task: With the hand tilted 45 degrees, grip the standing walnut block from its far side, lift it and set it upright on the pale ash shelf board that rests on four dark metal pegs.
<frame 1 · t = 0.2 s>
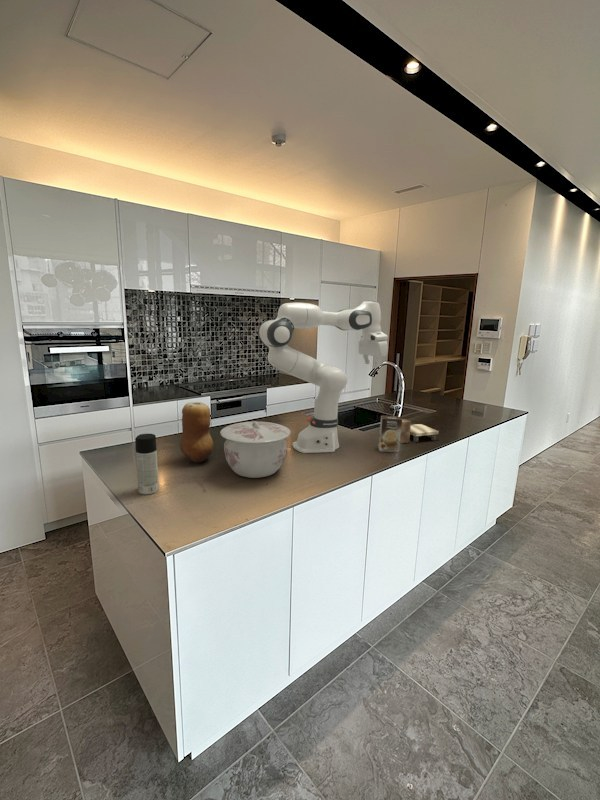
hand: (372, 364, 186), 39 cm above the countertop, tool pointing down, fingers open, 8 cm apart
coffee box: (388, 450, 183), on the countertop
chamber pot: (256, 471, 154), on the countertop
butternut squash: (197, 461, 163), on the countertop
walnut block: (402, 441, 196), on the countertop
spray can: (148, 491, 135), on the countertop
peg shelf: (417, 437, 203), on the countertop
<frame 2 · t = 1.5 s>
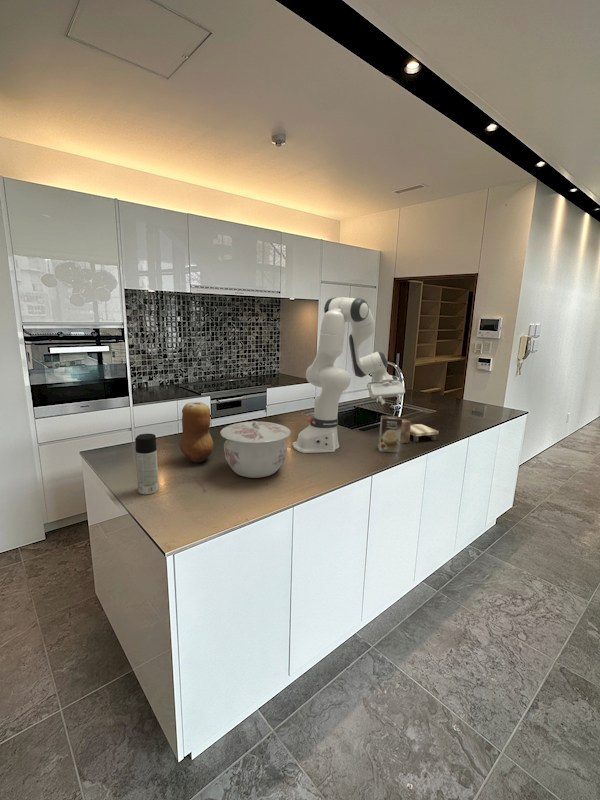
hand: (391, 403, 203), 17 cm above the countertop, tool tilted 45°, fingers open, 8 cm apart
nothing on the countertop moved.
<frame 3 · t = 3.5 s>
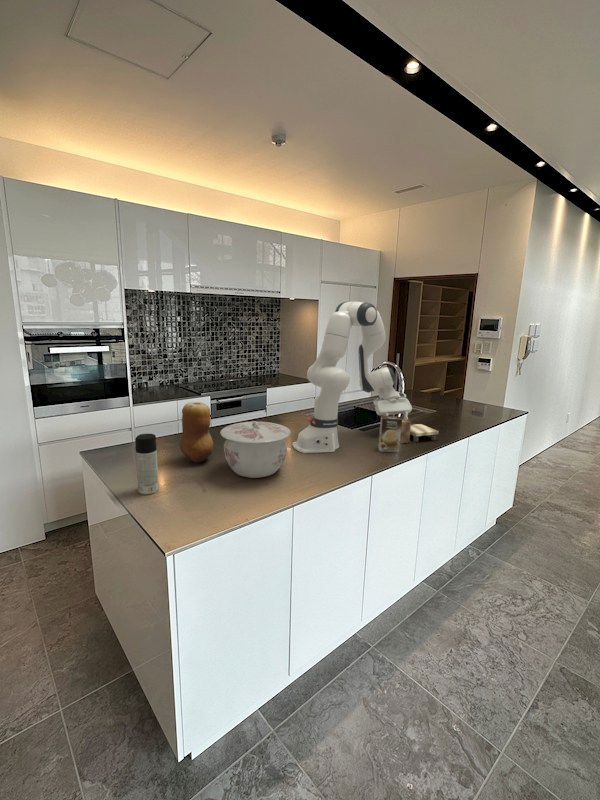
hand: (398, 420, 198), 10 cm above the countertop, tool tilted 45°, fingers open, 8 cm apart
nothing on the countertop moved.
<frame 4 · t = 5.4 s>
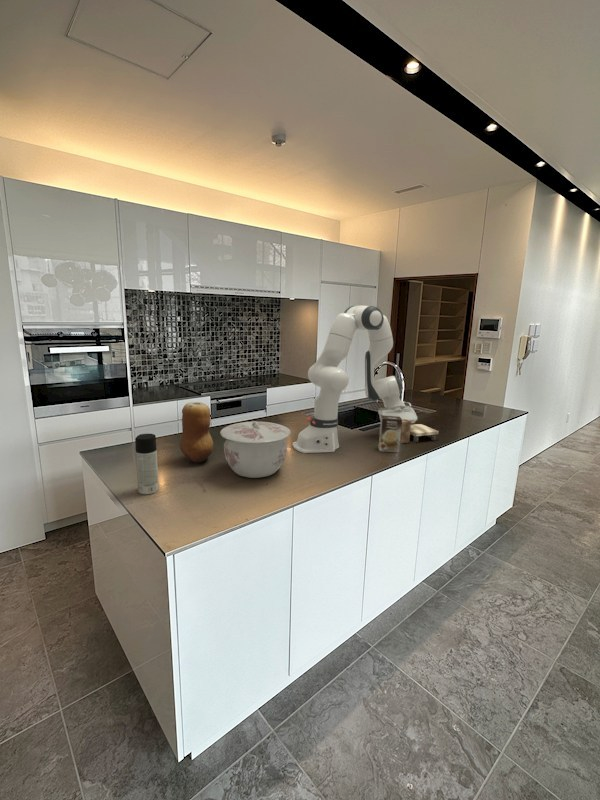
hand: (403, 430, 194), 6 cm above the countertop, tool tilted 45°, fingers closed on walnut block, 5 cm apart
walnut block: (402, 441, 196), on the countertop, touching gripper
everything else where it was.
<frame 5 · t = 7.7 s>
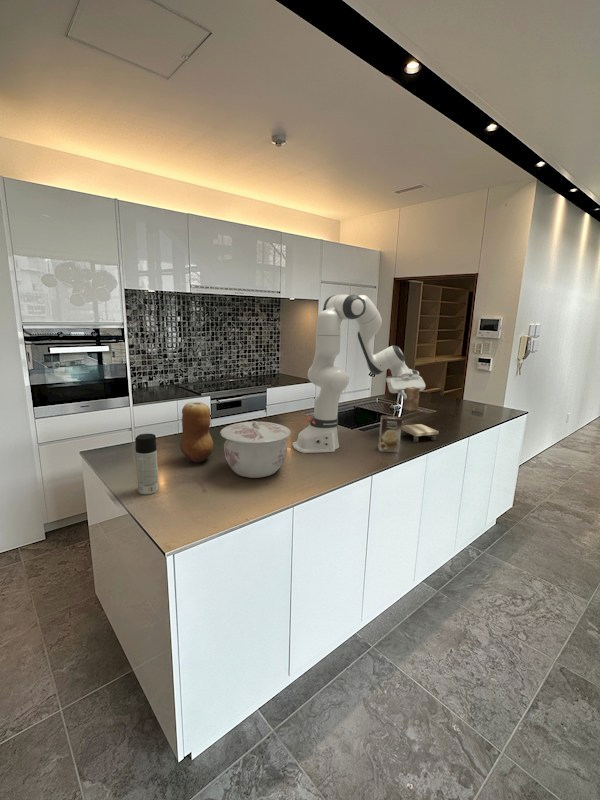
hand: (412, 398, 193), 22 cm above the countertop, tool tilted 45°, fingers closed on walnut block, 5 cm apart
walnut block: (410, 409, 195), point 16 cm above the countertop, touching gripper
everything else where it was.
when the fingers open (12 cm above the countertop, at t = 10.3 s): walnut block drops 1 cm, resting on peg shelf.
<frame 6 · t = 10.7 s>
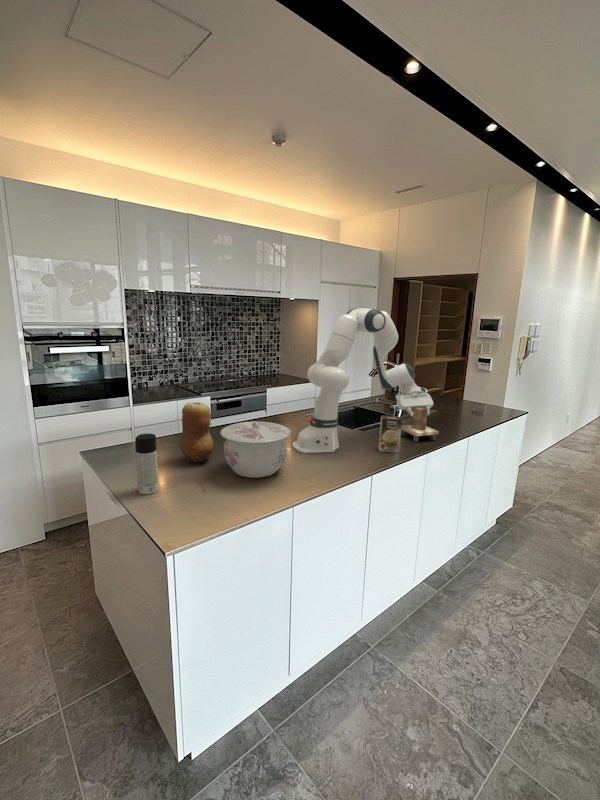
hand: (420, 415, 200), 12 cm above the countertop, tool tilted 45°, fingers open, 8 cm apart
walnut block: (418, 428, 202), point 5 cm above the countertop, touching peg shelf
everything else where it was.
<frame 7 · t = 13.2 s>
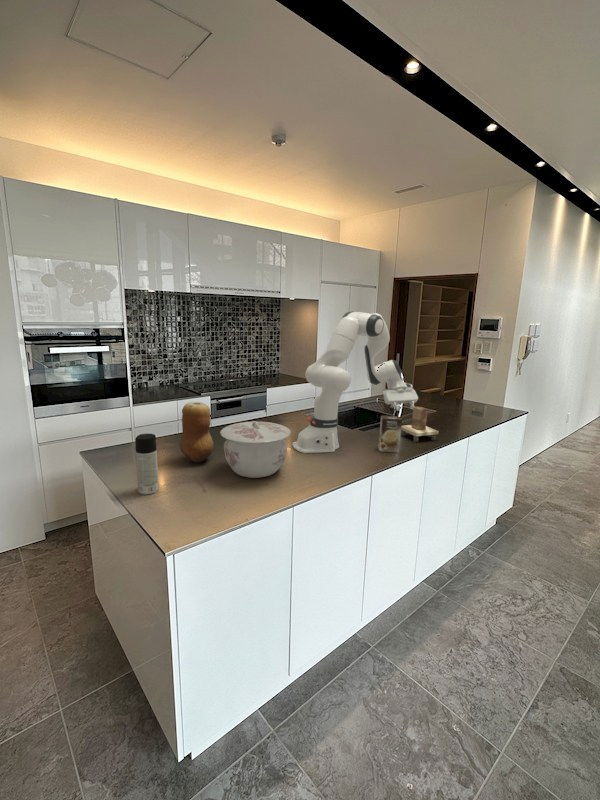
hand: (405, 409, 211), 12 cm above the countertop, tool tilted 45°, fingers open, 8 cm apart
nothing on the countertop moved.
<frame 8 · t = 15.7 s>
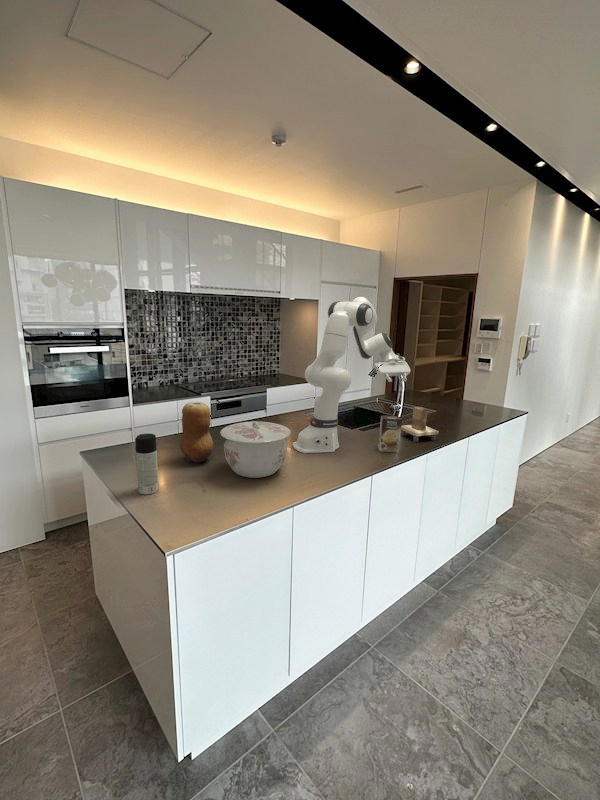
hand: (397, 381, 212), 27 cm above the countertop, tool tilted 45°, fingers open, 8 cm apart
nothing on the countertop moved.
at the end: walnut block inside the target area on the peg shelf (0.1 cm from its centre), point 5.0 cm above the peg shelf's base; walnut block tilted 0°; the gripper is holding nothing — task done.
